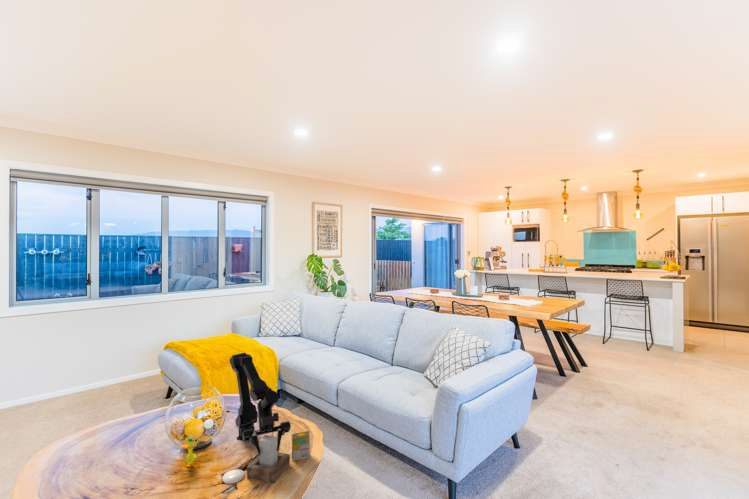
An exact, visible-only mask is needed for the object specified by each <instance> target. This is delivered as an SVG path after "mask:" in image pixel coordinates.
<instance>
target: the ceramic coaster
mask: <svg viewBox="0 0 749 499" xmlns="http://www.w3.org/2000/svg"><path fill="white" fill-rule="evenodd" d="M244 477H245V472H244V470H242V469H239V468H238V469H232V470H229V471H226V472H225V473H224V474H223V475H222V482H223V483H224V484H226V485H233V483H234V484H236V483H239V482H240V481H241V480H243V479H244Z"/></svg>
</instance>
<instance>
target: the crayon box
mask: <svg viewBox="0 0 749 499" xmlns="http://www.w3.org/2000/svg"><path fill="white" fill-rule="evenodd" d="M310 442H311V441H310V430H307V431H301V432H296V433H292V435H291V460H292V462H295V461H299V460H304V459H309V458H310V457H311V447H310V446H311V443H310Z"/></svg>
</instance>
